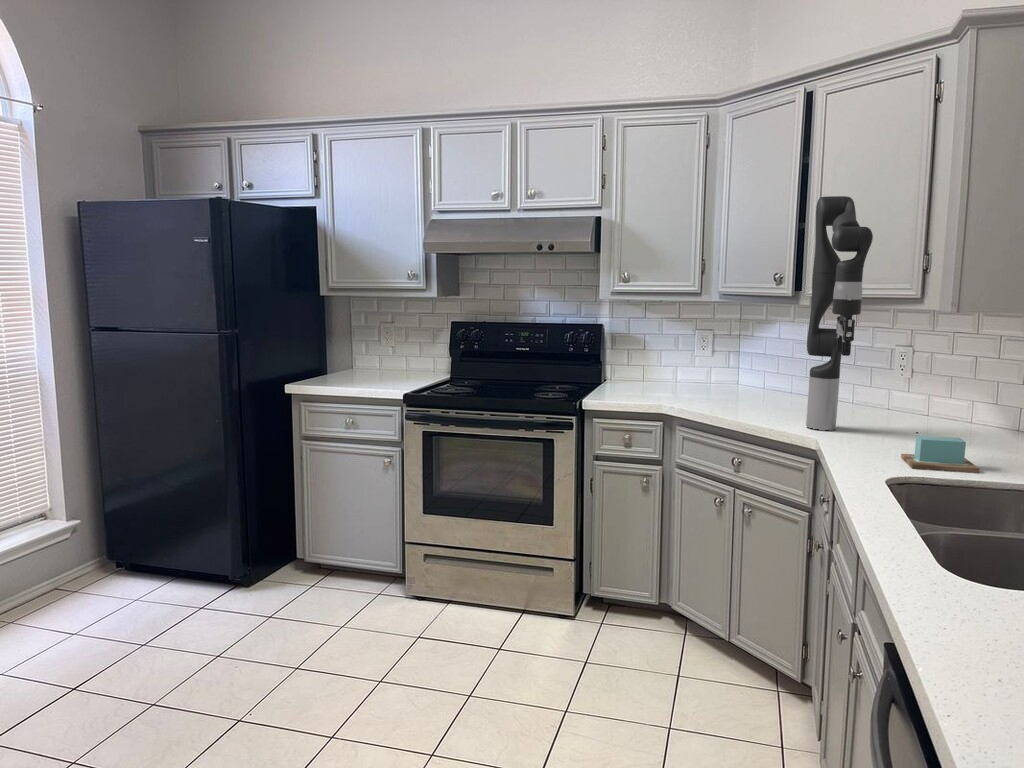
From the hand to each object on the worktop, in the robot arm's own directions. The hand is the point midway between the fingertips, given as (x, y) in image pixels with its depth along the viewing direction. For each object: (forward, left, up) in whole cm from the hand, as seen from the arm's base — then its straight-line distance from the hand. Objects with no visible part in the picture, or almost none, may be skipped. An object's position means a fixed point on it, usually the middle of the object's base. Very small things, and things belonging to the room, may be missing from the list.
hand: (843, 353), depth 220 cm
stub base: (+13, +24, -28) cm, 39 cm away
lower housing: (+13, +24, -27) cm, 38 cm away
